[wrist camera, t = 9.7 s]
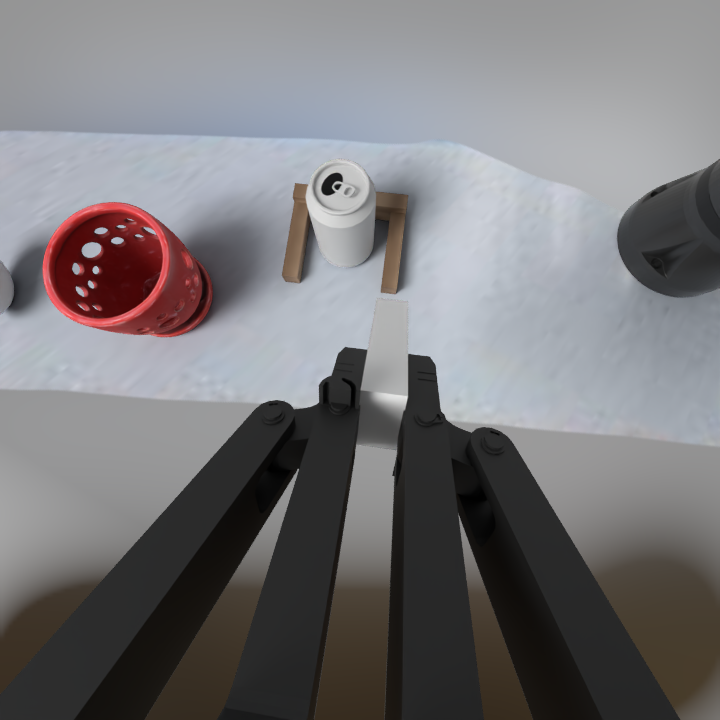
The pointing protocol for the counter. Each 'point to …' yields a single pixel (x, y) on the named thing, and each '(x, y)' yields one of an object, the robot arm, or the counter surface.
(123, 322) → the plant pot
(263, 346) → the counter surface
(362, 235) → the can
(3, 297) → the donut
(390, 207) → the walnut frame
